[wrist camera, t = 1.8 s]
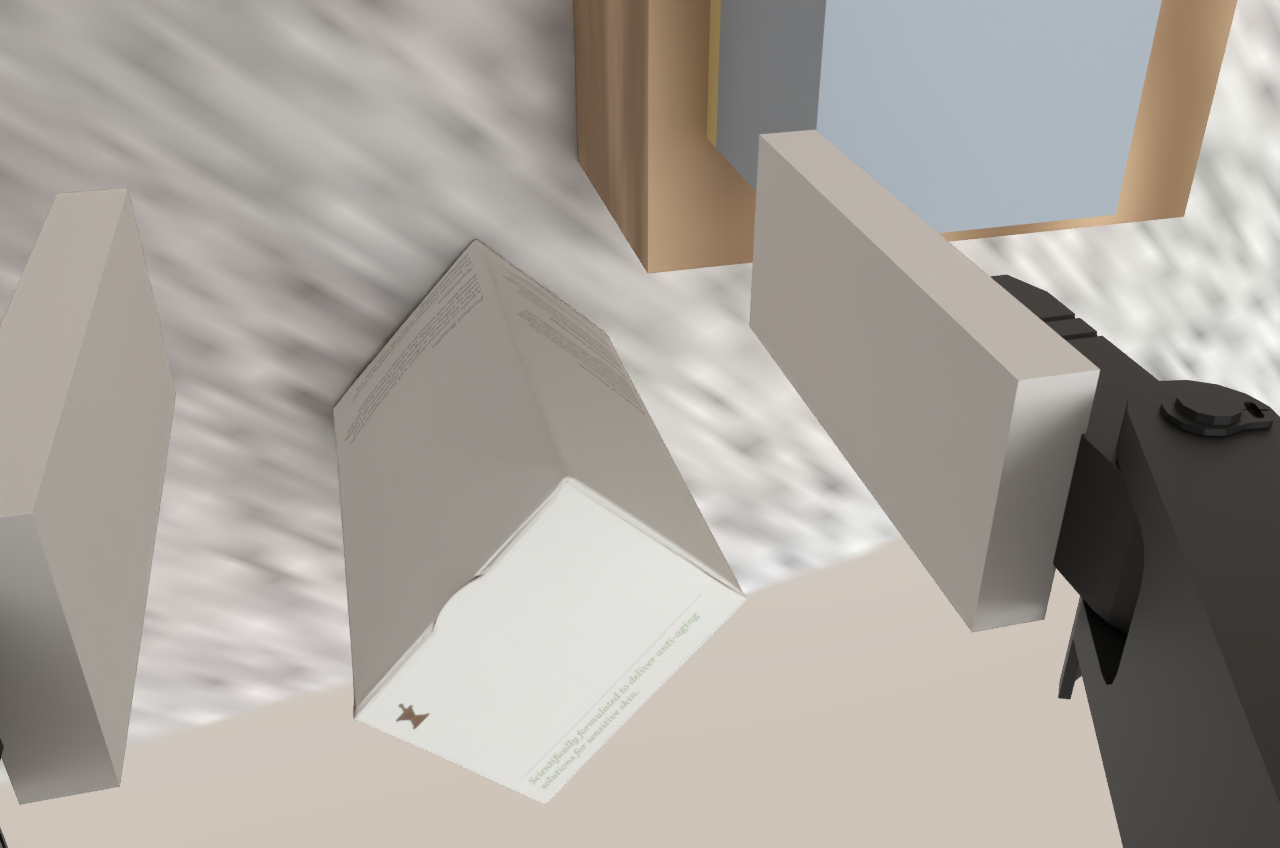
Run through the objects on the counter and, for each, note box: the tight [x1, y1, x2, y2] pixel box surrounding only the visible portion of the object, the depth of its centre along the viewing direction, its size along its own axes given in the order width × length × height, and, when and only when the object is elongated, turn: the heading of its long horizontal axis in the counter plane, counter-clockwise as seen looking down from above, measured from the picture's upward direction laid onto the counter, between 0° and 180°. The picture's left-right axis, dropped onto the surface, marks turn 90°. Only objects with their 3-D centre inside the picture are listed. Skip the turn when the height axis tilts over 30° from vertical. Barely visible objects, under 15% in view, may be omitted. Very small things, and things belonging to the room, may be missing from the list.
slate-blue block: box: [707, 0, 1162, 233], centre depth 26 cm, size 7×7×7 cm
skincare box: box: [333, 240, 747, 804], centre depth 36 cm, size 8×7×16 cm
